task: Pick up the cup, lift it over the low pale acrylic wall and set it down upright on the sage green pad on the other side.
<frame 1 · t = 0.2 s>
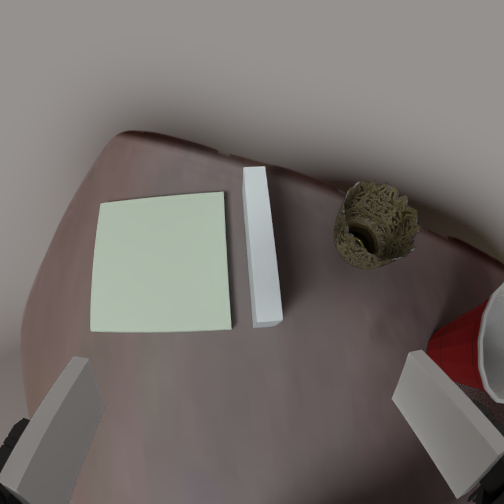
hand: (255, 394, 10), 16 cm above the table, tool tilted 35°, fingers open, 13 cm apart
cup: (351, 250, 29), on the table
plastic cup: (441, 352, 26), on the table
green pad: (157, 261, 28), on the table
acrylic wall: (257, 255, 29), on the table
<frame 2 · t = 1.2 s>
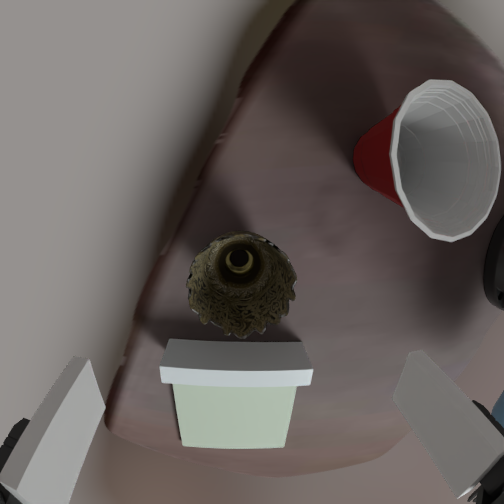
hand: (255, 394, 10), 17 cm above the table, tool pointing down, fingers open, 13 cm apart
cup: (239, 257, 27), on the table
plastic cup: (377, 162, 25), on the table
green pad: (234, 413, 32), on the table
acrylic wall: (235, 349, 29), on the table
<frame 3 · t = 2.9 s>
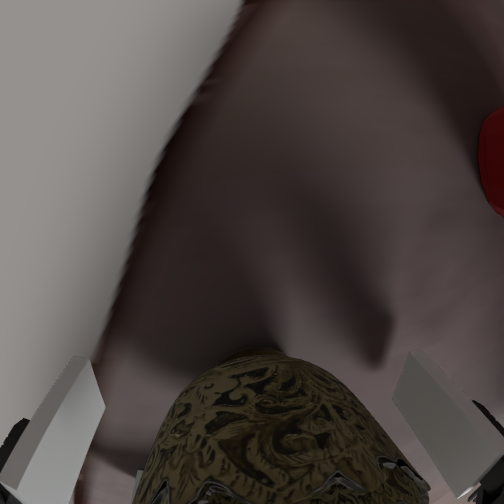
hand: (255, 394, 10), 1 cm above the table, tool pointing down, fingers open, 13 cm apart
cup: (253, 371, 12), on the table
plastic cup: (503, 168, 10), on the table
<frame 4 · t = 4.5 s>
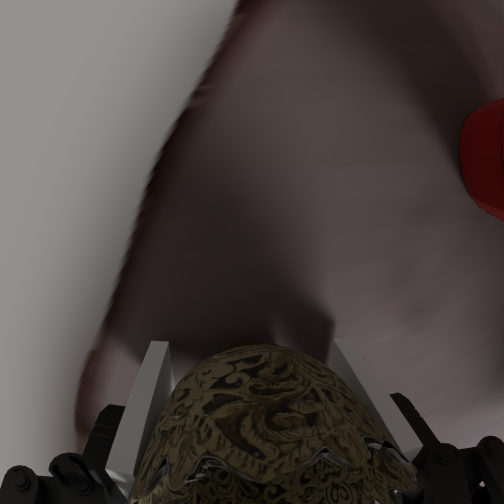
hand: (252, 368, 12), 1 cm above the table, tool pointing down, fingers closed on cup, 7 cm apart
cup: (249, 362, 12), on the table, touching gripper
plastic cup: (486, 164, 11), on the table
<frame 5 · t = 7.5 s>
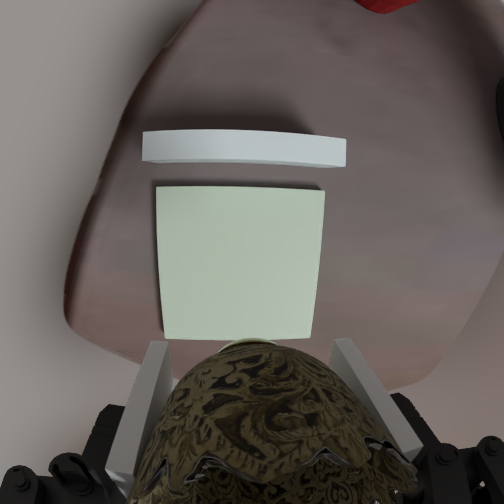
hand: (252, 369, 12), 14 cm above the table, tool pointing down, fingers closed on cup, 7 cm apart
cup: (249, 362, 12), point 14 cm above the table, touching gripper
green pad: (239, 267, 25), on the table
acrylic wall: (242, 151, 23), on the table
when the fingers open (2 cm above the table, at t = 10.5 s): cup stays where it is, resting on green pad.
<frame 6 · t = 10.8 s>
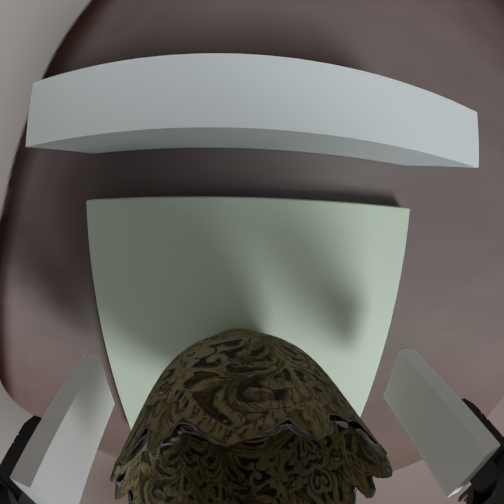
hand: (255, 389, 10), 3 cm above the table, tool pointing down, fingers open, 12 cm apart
cup: (237, 352, 13), point 1 cm above the table, touching green pad
green pad: (249, 346, 13), on the table
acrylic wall: (256, 125, 11), on the table
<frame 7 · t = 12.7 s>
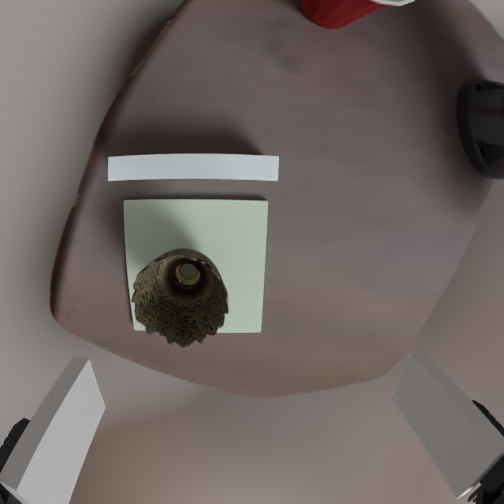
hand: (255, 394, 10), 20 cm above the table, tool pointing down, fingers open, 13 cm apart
cup: (188, 270, 28), point 1 cm above the table, touching green pad
plastic cup: (324, 12, 23), on the table
green pad: (194, 268, 29), on the table
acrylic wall: (195, 168, 26), on the table
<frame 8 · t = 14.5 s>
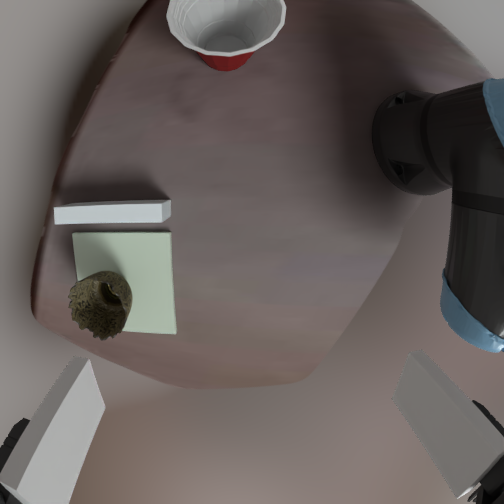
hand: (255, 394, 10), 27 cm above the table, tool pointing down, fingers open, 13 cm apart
cup: (118, 284, 35), point 1 cm above the table, touching green pad
plastic cup: (226, 54, 30), on the table
green pad: (123, 283, 36), on the table
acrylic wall: (118, 208, 33), on the table
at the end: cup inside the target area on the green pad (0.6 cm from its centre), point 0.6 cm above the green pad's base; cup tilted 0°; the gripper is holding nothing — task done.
